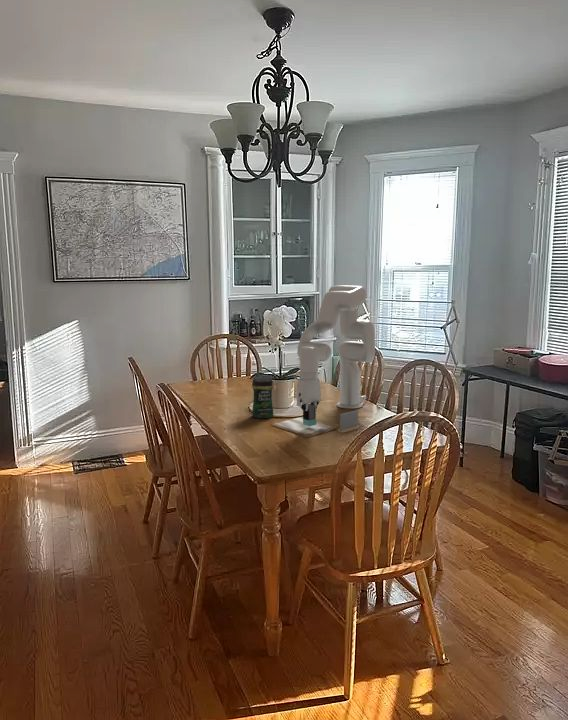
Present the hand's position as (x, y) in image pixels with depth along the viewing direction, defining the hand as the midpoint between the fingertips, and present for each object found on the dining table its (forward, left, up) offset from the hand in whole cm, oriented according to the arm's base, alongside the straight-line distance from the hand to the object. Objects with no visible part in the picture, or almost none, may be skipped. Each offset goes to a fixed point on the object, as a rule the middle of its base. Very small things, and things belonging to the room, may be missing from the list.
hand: (309, 418), depth 245 cm
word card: (-13, +10, -5) cm, 17 cm away
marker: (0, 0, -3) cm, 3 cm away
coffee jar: (+2, -30, -5) cm, 30 cm away
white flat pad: (-1, -5, -5) cm, 7 cm away
